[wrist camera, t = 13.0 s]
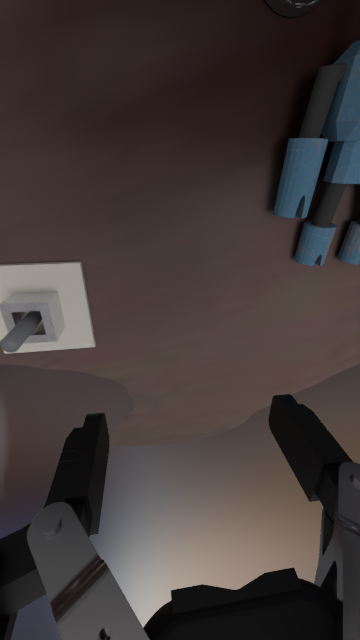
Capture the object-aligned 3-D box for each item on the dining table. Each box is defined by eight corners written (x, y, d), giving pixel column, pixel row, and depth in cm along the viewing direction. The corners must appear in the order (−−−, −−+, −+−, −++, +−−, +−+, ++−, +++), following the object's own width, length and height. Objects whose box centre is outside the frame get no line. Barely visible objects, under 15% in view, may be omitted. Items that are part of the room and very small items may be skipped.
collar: (14, 292, 37) (-2, 304, 33) (57, 290, 38) (47, 301, 34) (25, 329, 40) (11, 344, 36) (65, 327, 40) (57, 341, 36)
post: (-23, 265, 36) (-86, 290, 26) (81, 261, 37) (59, 284, 28) (7, 350, 42) (-34, 397, 32) (96, 343, 43) (82, 386, 34)
